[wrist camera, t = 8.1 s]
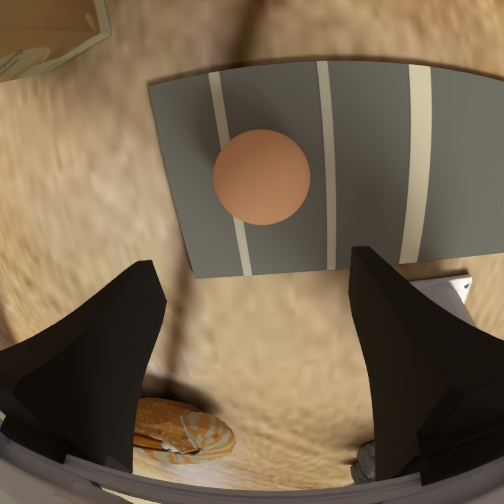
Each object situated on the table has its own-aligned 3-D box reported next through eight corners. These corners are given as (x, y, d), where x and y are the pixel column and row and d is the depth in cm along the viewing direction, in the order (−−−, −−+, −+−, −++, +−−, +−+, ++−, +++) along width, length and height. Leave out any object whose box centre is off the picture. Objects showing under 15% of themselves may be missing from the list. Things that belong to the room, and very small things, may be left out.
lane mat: (514, 248, 20) (517, 251, 19) (196, 275, 23) (195, 279, 23) (539, 92, 12) (543, 93, 12) (150, 86, 16) (147, 86, 15)
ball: (307, 198, 19) (318, 238, 15) (227, 205, 19) (215, 247, 15) (301, 118, 16) (313, 135, 12) (214, 128, 17) (195, 148, 13)
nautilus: (75, 374, 36) (109, 326, 30) (194, 443, 42) (257, 416, 36) (52, 416, 29) (78, 381, 23) (185, 484, 35) (253, 469, 29)
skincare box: (45, 76, 15) (-100, 124, 5) (34, 28, 13) (-106, 51, 2) (117, 33, 14) (-45, 34, 3) (105, -18, 11) (-43, -48, 1)
